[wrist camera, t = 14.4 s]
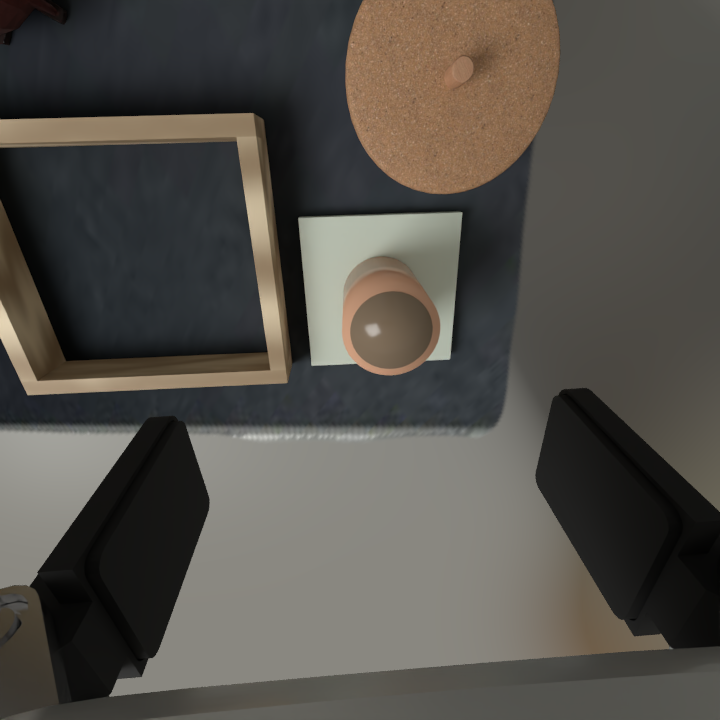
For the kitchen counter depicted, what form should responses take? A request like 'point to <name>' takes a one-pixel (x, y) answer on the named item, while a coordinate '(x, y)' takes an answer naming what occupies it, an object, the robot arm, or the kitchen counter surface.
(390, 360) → the terracotta pot
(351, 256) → the sage tile
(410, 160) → the lidded jar
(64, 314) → the kitchen counter surface
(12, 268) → the frame
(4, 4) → the mate gourd
